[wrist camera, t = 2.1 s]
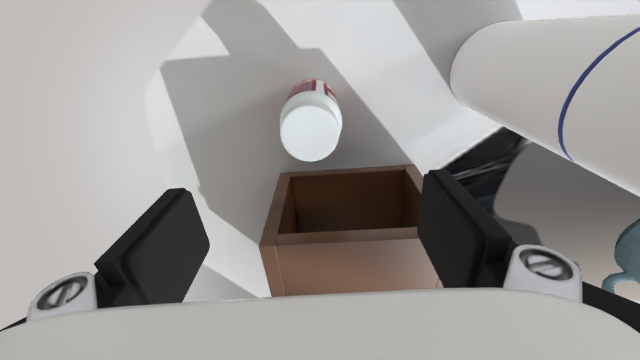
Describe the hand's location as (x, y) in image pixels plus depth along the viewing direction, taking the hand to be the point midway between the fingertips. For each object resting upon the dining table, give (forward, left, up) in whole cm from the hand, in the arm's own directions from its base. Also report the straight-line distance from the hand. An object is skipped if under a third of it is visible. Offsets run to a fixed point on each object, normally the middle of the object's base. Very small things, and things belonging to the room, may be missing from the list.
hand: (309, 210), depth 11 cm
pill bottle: (0, 0, -17) cm, 17 cm away
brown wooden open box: (+15, +3, -16) cm, 22 cm away
